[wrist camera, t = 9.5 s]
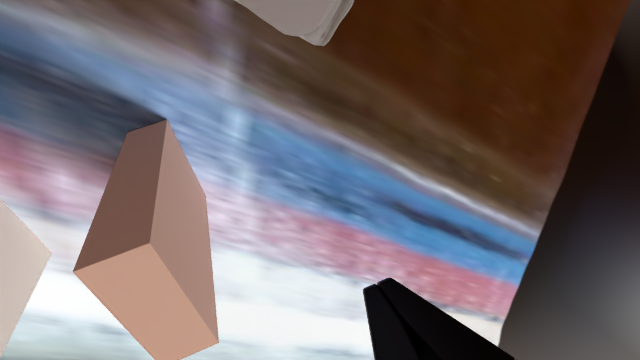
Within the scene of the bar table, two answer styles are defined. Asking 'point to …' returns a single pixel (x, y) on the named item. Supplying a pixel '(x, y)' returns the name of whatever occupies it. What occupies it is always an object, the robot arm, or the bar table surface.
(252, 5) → the ink box
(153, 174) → the tile
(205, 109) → the bar table surface
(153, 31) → the bar table surface
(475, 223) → the bar table surface
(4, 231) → the tile
